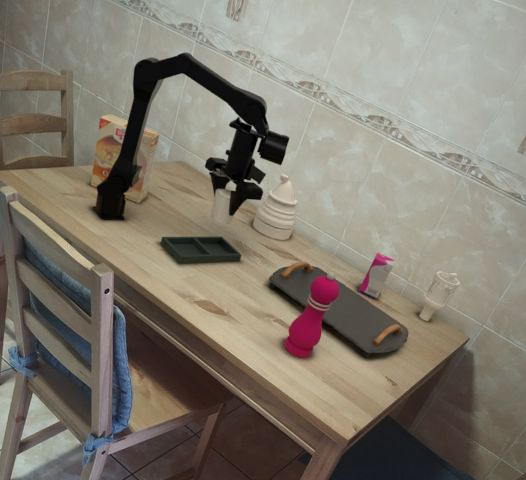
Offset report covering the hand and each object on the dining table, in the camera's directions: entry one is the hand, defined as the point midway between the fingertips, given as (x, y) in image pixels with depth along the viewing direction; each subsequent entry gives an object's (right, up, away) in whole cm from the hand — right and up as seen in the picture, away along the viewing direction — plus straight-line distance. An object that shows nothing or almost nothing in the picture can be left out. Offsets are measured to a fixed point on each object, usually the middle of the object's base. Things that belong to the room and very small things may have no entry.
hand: (224, 209), depth 133 cm
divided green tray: (-6, -11, +3) cm, 13 cm away
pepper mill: (+18, -37, -20) cm, 45 cm away
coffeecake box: (-33, +10, +18) cm, 38 cm away
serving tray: (+29, -27, +1) cm, 40 cm away
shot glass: (-1, -2, +2) cm, 3 cm away
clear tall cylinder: (+58, -28, +17) cm, 66 cm away
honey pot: (+13, +2, +33) cm, 36 cm away
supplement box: (+42, -20, +19) cm, 50 cm away
